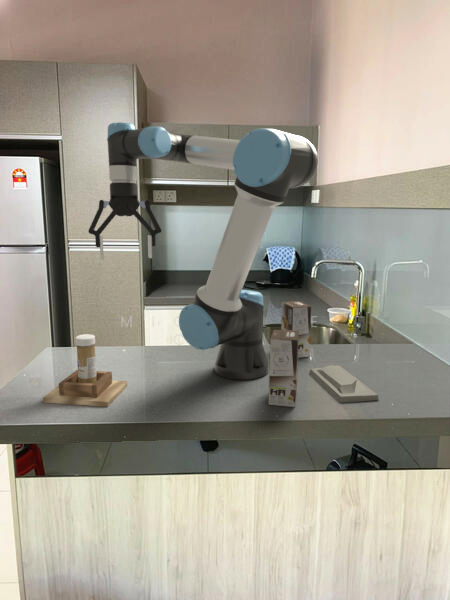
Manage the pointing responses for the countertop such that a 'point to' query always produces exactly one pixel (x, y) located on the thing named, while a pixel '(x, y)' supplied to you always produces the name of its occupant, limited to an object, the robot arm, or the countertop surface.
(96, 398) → the socket board
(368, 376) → the countertop surface
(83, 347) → the sprinkles bottle
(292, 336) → the coffee box
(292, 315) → the coffee box
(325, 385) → the soap mold
